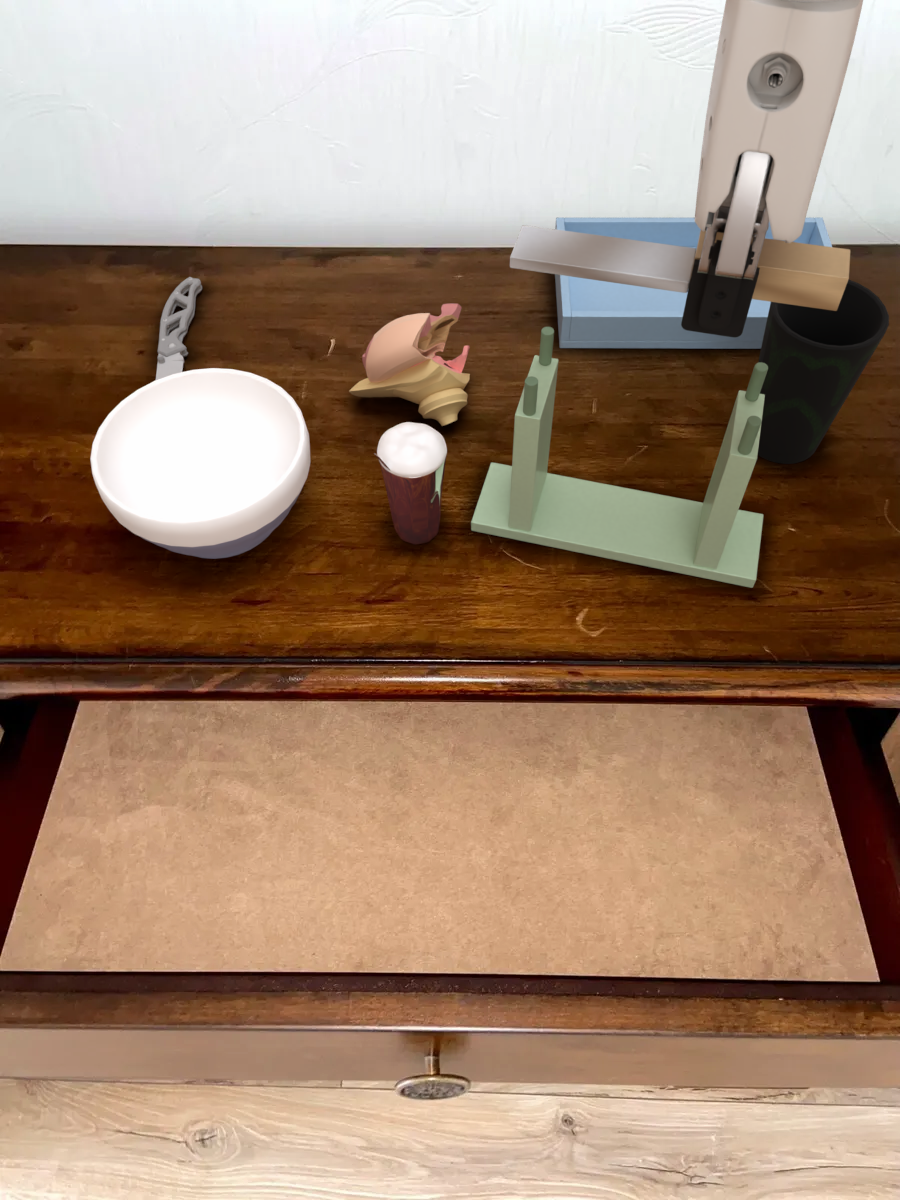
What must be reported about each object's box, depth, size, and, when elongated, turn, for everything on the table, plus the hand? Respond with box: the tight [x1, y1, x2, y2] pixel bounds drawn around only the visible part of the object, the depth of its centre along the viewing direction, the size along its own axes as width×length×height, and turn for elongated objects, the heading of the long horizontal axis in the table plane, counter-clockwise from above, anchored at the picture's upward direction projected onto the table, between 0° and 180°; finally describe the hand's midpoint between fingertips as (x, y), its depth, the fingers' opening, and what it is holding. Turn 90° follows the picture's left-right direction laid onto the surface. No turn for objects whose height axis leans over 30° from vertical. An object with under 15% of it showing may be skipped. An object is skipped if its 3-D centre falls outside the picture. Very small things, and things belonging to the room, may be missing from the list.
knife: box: [155, 276, 203, 381], centre depth 79 cm, size 2×18×3 cm
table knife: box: [509, 224, 851, 311], centre depth 49 cm, size 17×3×2 cm, turn 75°
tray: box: [554, 216, 833, 350], centre depth 81 cm, size 23×13×3 cm, turn 89°
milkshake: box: [373, 421, 448, 545], centre depth 64 cm, size 4×5×10 cm
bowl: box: [89, 367, 312, 560], centre depth 66 cm, size 14×14×8 cm
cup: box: [757, 278, 890, 465], centre depth 68 cm, size 8×8×12 cm
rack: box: [470, 326, 768, 589], centre depth 62 cm, size 20×6×14 cm, turn 75°
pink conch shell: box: [348, 303, 471, 427], centre depth 73 cm, size 9×10×10 cm
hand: (714, 308), depth 51 cm, fingers closed on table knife, 2 cm apart
